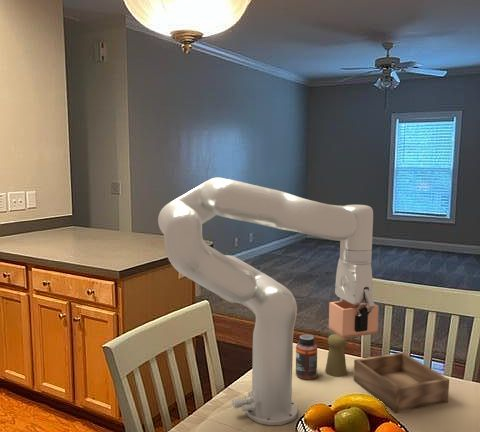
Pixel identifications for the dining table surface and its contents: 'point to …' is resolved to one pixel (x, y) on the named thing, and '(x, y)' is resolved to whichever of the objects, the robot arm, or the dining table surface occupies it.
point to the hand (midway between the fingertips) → (352, 325)
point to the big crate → (401, 382)
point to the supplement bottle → (306, 357)
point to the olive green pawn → (336, 356)
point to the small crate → (350, 319)
